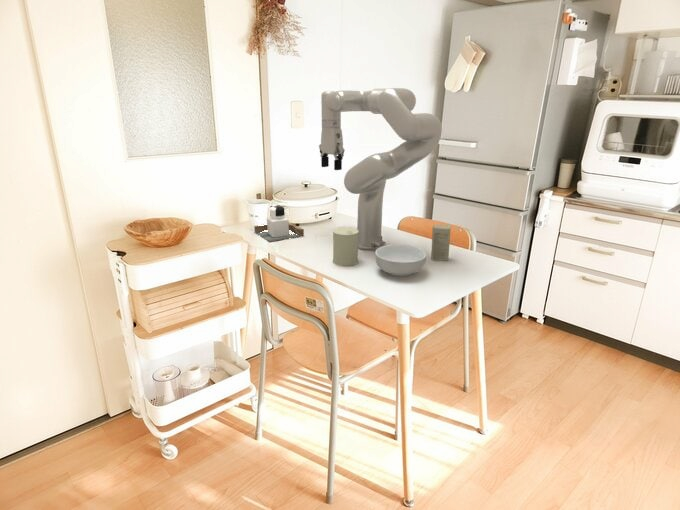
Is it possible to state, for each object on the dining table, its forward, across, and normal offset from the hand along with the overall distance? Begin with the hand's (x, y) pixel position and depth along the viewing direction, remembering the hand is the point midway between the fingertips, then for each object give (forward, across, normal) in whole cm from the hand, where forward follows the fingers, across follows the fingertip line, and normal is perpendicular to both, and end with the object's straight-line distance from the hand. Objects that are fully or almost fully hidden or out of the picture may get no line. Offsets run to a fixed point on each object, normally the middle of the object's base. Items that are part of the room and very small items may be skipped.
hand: (331, 168), depth 179 cm
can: (+29, -30, +13) cm, 43 cm away
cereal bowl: (+29, -48, +3) cm, 56 cm away
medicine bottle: (+28, +11, +20) cm, 36 cm away
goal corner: (+28, +12, +19) cm, 36 cm away
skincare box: (+29, -46, -18) cm, 57 cm away
